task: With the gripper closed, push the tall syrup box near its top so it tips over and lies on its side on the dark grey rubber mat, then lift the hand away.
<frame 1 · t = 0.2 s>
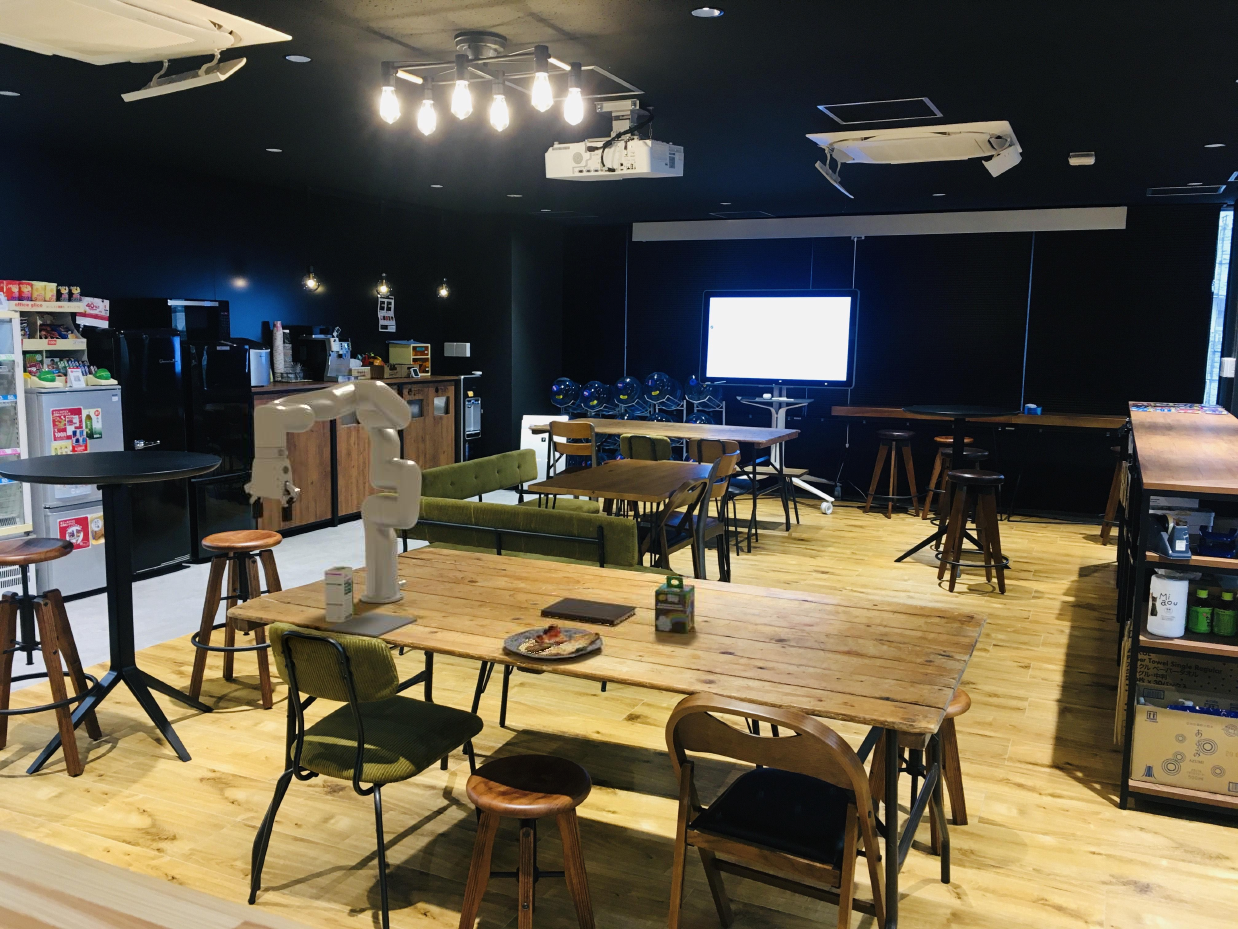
hand: (272, 519, 250), 31 cm above the table, tool pointing down, fingers open, 9 cm apart
rubber mat: (373, 624, 265), on the table
chalk box: (674, 629, 267), on the table
syrup box: (339, 620, 270), on the table
hardcover book: (588, 616, 280), on the table
food plate: (554, 649, 247), on the table
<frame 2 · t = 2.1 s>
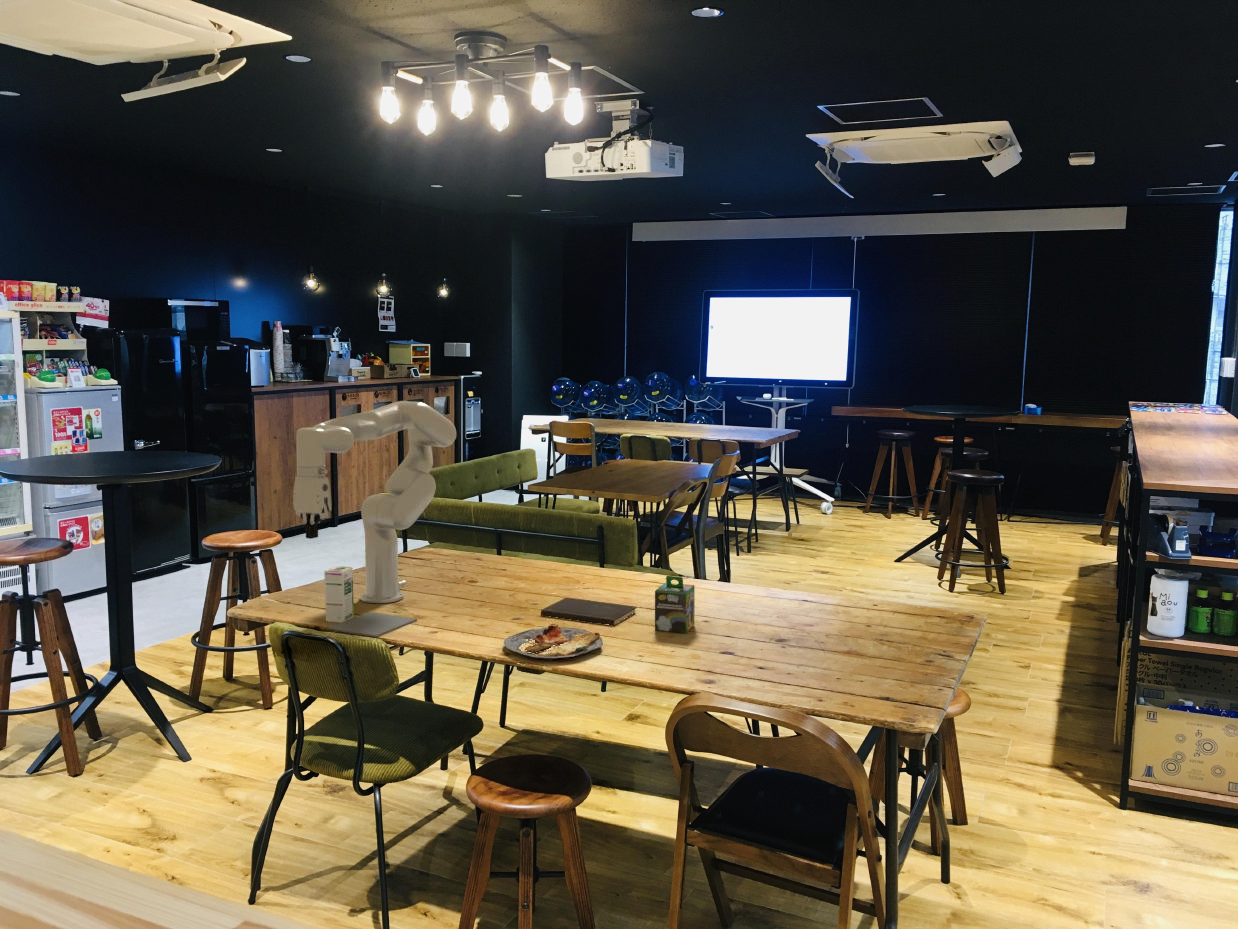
hand: (312, 537, 271), 22 cm above the table, tool pointing down, fingers closed
nothing on the table moved.
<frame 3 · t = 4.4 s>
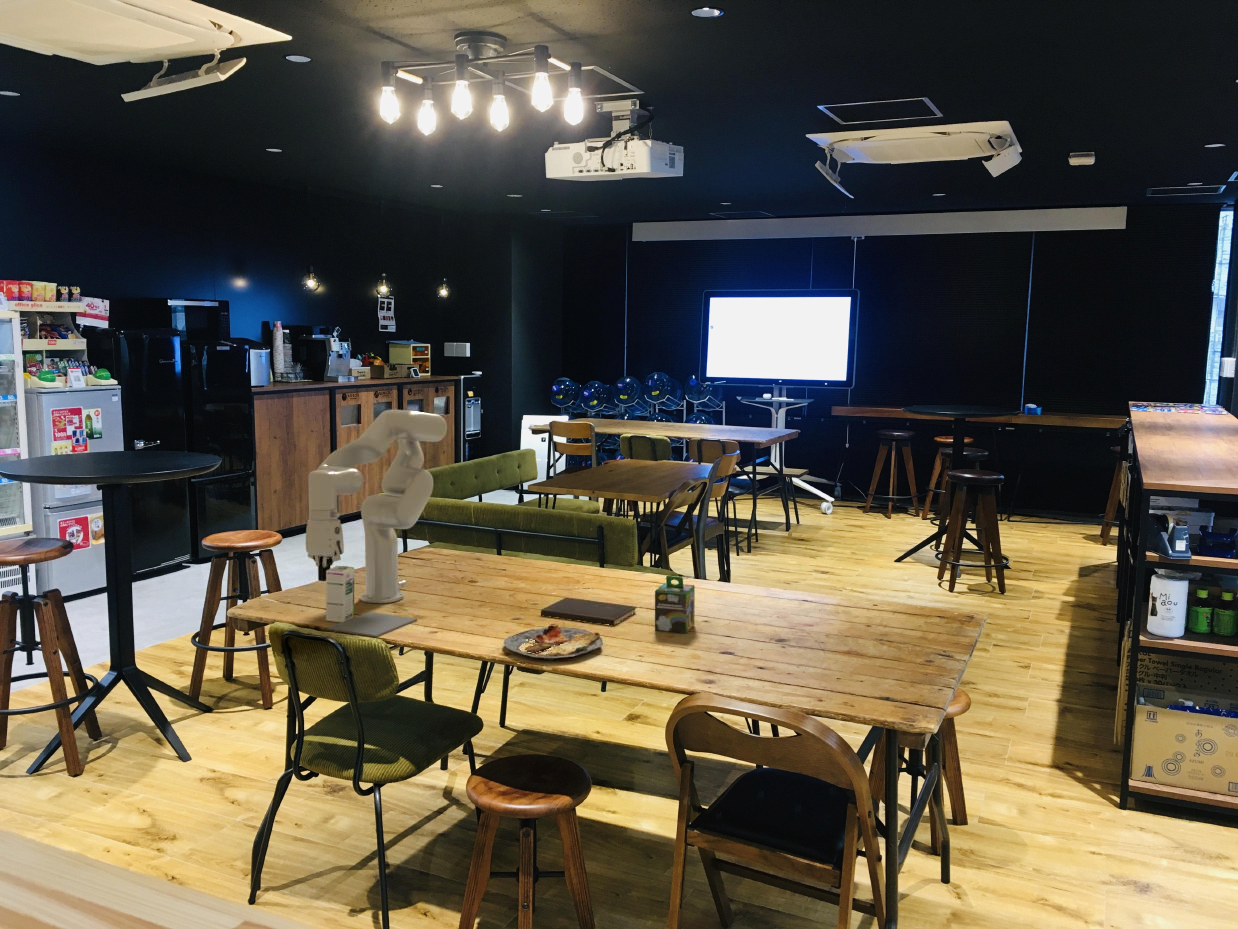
hand: (324, 579, 270), 11 cm above the table, tool pointing down, fingers closed
syrup box: (339, 619, 270), on the table, touching gripper
everything else where it was.
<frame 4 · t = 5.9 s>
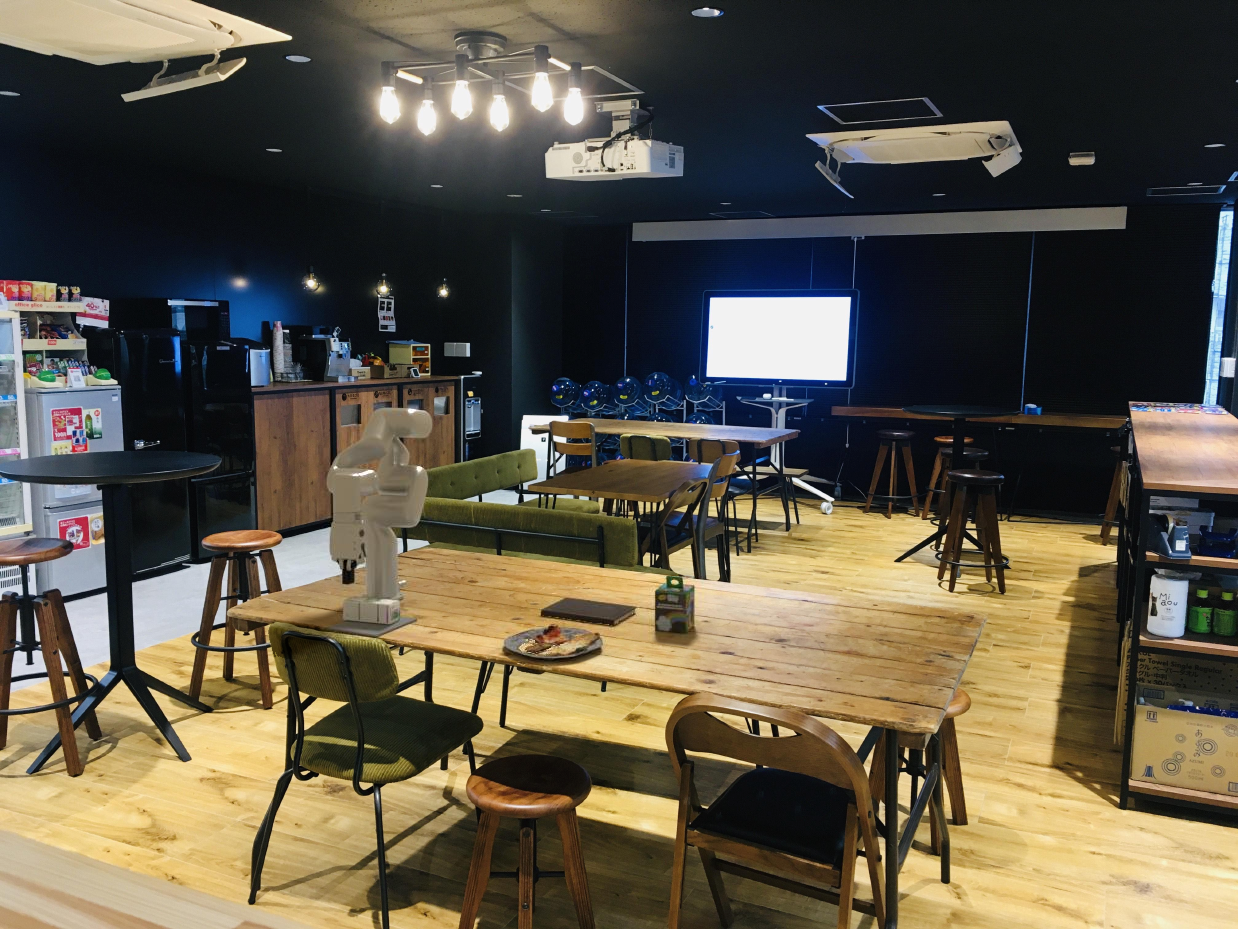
hand: (348, 583, 267), 11 cm above the table, tool pointing down, fingers closed
syrup box: (347, 607, 269), point 4 cm above the table, touching rubber mat
everything else where it was.
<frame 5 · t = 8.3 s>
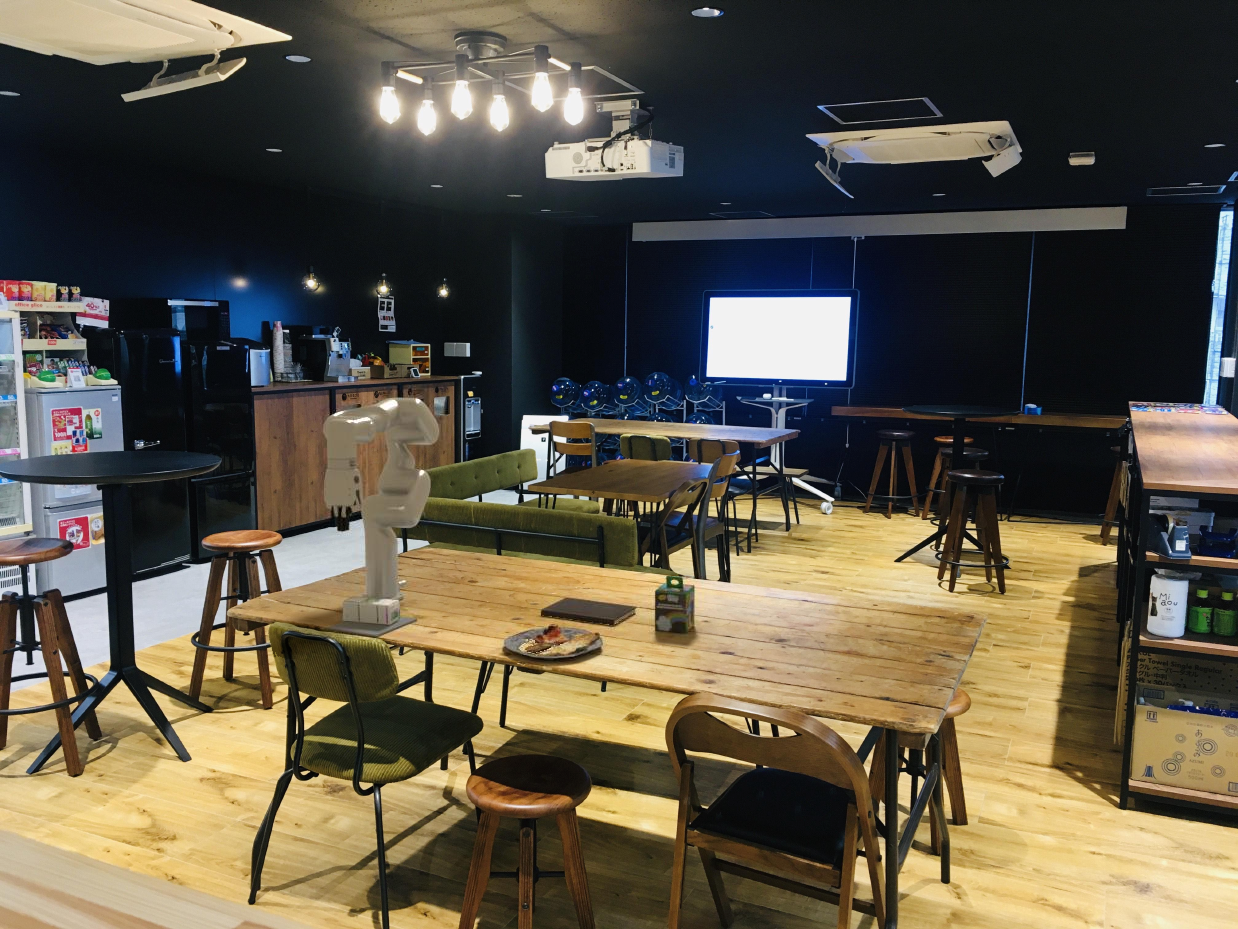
hand: (343, 530, 267), 25 cm above the table, tool pointing down, fingers closed
nothing on the table moved.
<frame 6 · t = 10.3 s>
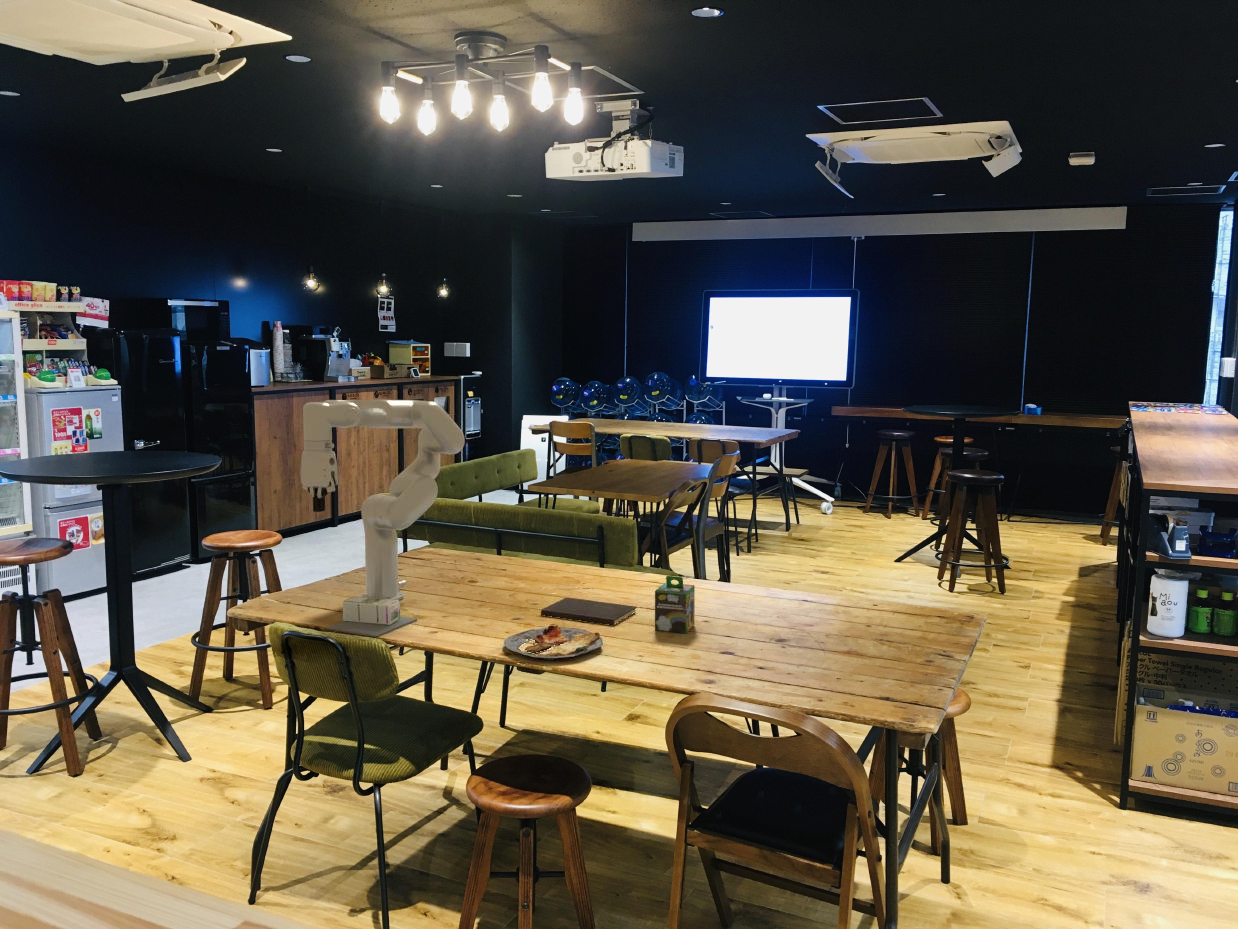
hand: (319, 511, 274), 29 cm above the table, tool pointing down, fingers closed
nothing on the table moved.
at the end: syrup box tilted 90°; syrup box touching rubber mat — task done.
